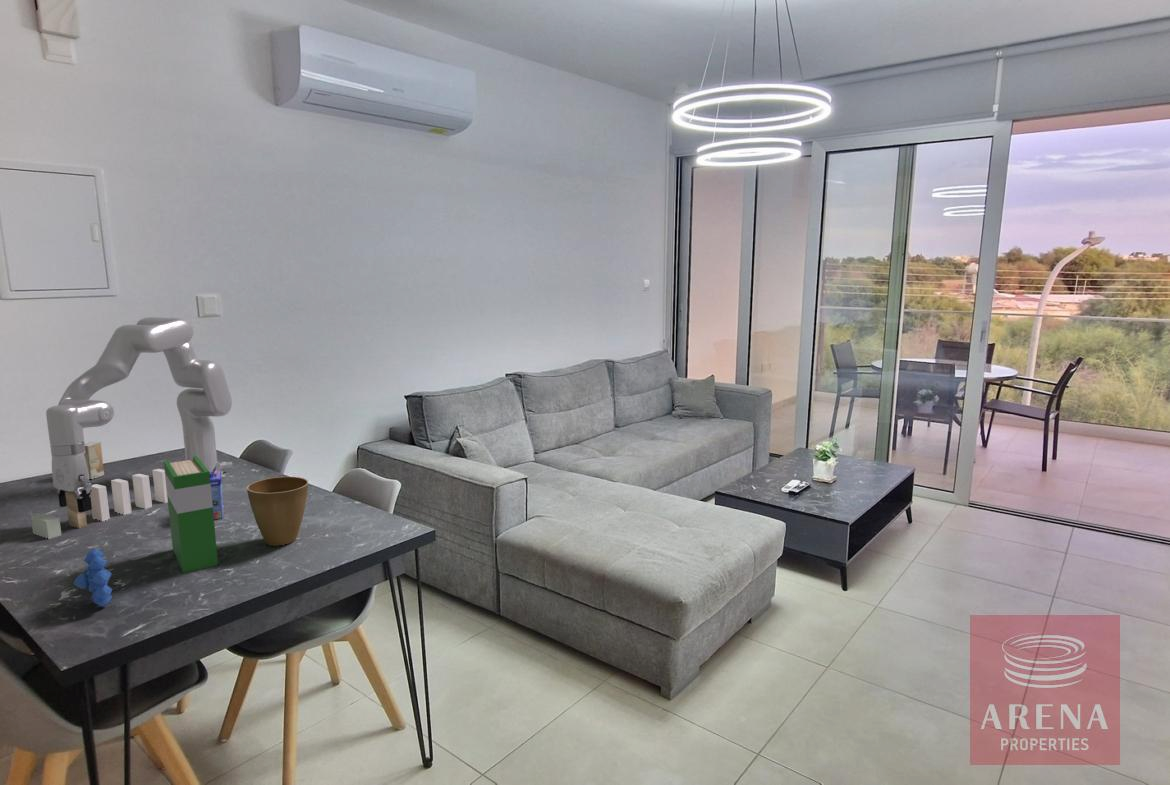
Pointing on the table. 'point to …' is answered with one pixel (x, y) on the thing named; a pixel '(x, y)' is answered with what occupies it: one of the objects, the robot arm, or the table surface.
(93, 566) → the grapes
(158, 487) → the domino
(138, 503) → the domino
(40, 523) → the block
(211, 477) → the ink cartridge box
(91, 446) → the skincare box
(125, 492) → the domino
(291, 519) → the plant pot
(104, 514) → the domino
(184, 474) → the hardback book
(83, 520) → the domino
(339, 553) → the table surface
